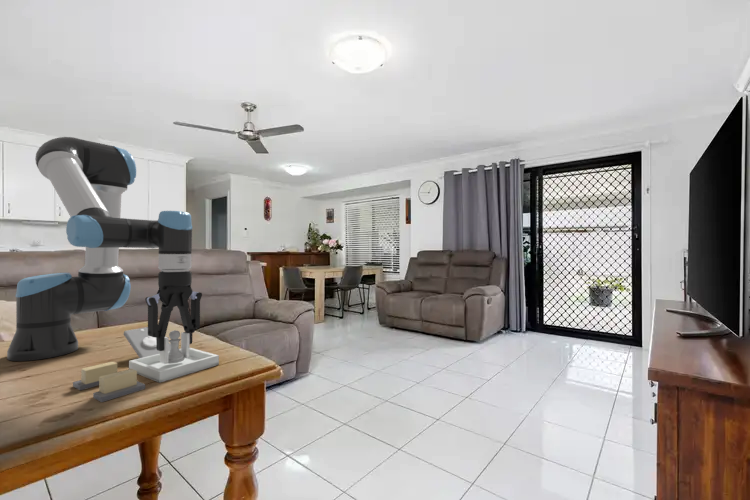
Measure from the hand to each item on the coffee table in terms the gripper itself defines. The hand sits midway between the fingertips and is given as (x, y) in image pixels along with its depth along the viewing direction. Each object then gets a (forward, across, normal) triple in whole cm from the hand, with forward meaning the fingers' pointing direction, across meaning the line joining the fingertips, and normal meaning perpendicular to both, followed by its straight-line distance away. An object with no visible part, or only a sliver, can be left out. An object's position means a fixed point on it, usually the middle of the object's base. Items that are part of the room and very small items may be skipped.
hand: (174, 359), depth 90 cm
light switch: (+2, +1, +14) cm, 14 cm away
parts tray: (+2, 0, 0) cm, 2 cm away
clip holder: (+2, -15, -1) cm, 15 cm away
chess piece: (+1, 0, 0) cm, 1 cm away
